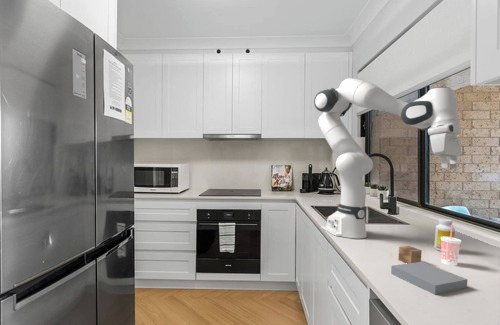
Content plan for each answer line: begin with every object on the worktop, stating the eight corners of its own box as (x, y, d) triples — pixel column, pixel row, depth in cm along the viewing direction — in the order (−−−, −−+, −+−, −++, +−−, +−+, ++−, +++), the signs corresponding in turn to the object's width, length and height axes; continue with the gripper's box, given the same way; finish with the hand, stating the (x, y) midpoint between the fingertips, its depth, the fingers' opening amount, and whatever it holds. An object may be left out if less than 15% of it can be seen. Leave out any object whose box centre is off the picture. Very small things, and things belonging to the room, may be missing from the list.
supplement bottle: (456, 254, 113) (458, 222, 113) (438, 251, 115) (440, 220, 114) (448, 248, 120) (450, 218, 120) (431, 246, 121) (433, 217, 121)
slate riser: (391, 273, 89) (391, 265, 89) (421, 268, 95) (421, 261, 95) (434, 294, 76) (435, 285, 76) (466, 287, 82) (467, 279, 82)
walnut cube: (398, 260, 102) (399, 246, 102) (407, 259, 104) (408, 245, 104) (410, 265, 98) (411, 251, 98) (420, 264, 100) (421, 250, 100)
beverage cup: (462, 265, 101) (465, 226, 101) (454, 267, 98) (457, 227, 97) (443, 259, 106) (446, 222, 106) (435, 261, 103) (438, 223, 102)
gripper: (444, 134, 112) (448, 169, 111) (425, 129, 99) (429, 168, 98) (464, 131, 107) (468, 168, 106) (446, 125, 94) (451, 167, 93)
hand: (449, 168), depth 102 cm, fingers open, 8 cm apart
